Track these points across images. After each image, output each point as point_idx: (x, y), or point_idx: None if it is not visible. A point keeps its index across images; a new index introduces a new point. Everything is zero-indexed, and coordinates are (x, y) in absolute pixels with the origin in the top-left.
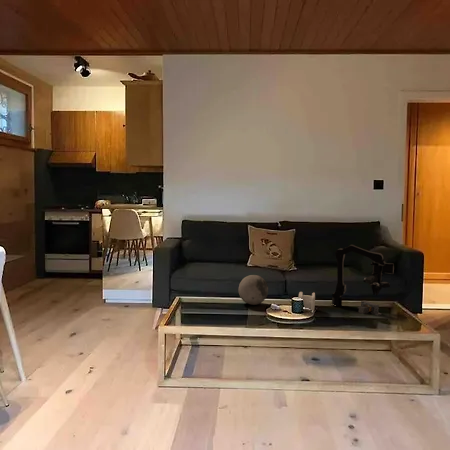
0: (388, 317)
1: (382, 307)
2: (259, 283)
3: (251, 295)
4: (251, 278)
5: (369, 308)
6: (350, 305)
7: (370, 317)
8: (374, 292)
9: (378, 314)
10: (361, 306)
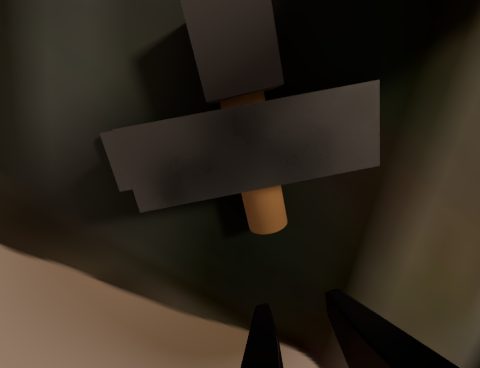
0: (47, 205)
1: None
2: None
3: None
4: None
5: None
6: (475, 83)
7: (37, 6)
8: (352, 345)
9: (106, 149)
10: (260, 14)
